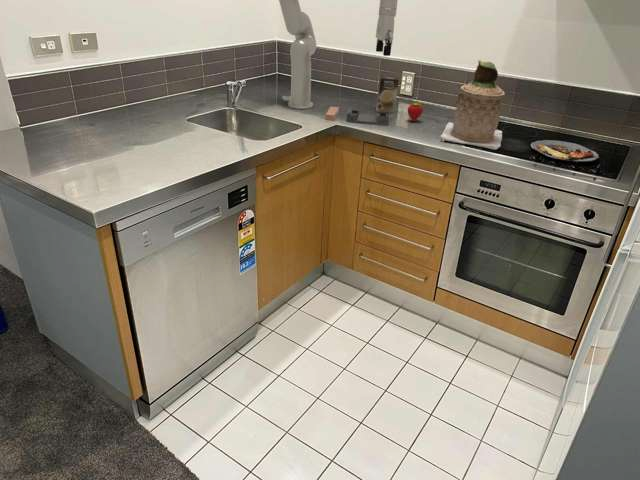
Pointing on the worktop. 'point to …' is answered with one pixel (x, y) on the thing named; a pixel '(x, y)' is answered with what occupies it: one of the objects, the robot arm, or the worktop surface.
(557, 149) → the food plate
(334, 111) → the clay strip
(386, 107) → the coffee box
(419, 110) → the strawberry
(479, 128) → the cookie jar
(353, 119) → the drying rack
